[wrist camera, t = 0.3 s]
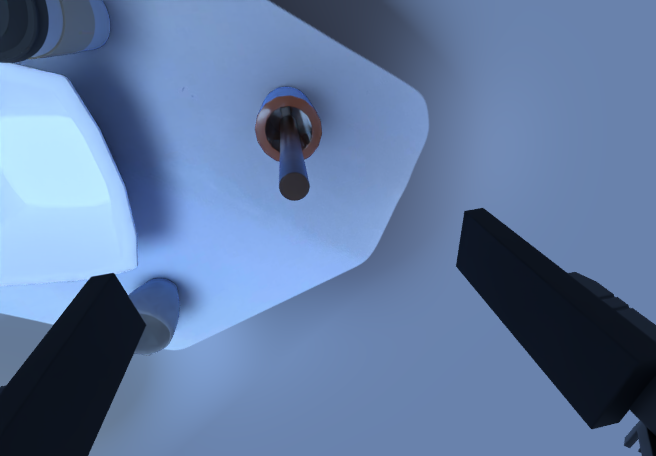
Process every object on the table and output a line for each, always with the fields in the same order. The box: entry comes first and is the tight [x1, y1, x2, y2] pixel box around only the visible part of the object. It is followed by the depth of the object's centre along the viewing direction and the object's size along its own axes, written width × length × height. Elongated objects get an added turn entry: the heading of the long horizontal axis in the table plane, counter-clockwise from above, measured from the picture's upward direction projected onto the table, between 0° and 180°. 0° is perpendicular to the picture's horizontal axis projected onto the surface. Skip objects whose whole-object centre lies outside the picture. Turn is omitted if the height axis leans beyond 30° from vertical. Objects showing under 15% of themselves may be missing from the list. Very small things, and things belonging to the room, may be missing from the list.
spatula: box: [279, 106, 310, 201], centre depth 29 cm, size 4×2×26 cm, turn 12°
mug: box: [128, 278, 180, 356], centre depth 49 cm, size 12×9×10 cm
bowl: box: [0, 63, 138, 286], centre depth 36 cm, size 24×25×10 cm
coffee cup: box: [0, 0, 110, 63], centre depth 27 cm, size 9×9×15 cm
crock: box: [255, 86, 322, 162], centre depth 36 cm, size 7×7×11 cm
